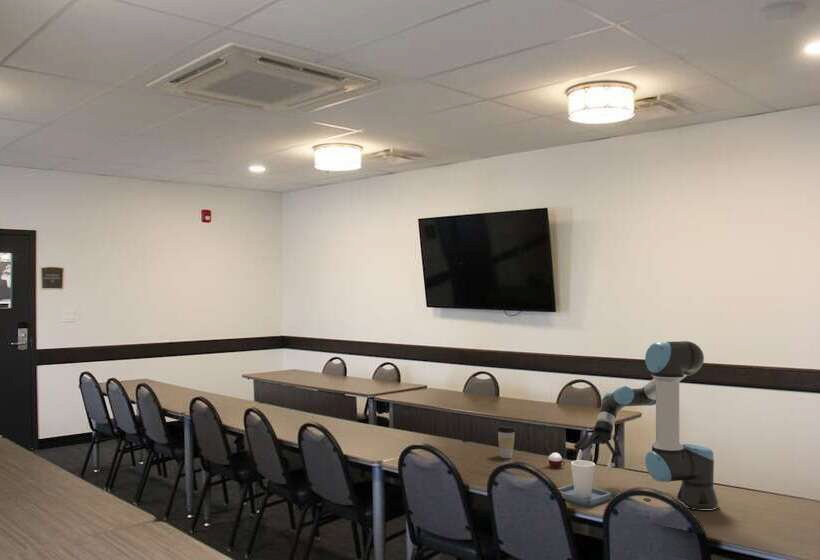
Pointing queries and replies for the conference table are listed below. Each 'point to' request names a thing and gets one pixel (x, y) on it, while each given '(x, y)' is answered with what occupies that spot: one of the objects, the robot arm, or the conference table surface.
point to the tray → (595, 499)
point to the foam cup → (582, 477)
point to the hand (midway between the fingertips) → (592, 466)
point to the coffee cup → (506, 440)
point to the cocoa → (554, 458)
